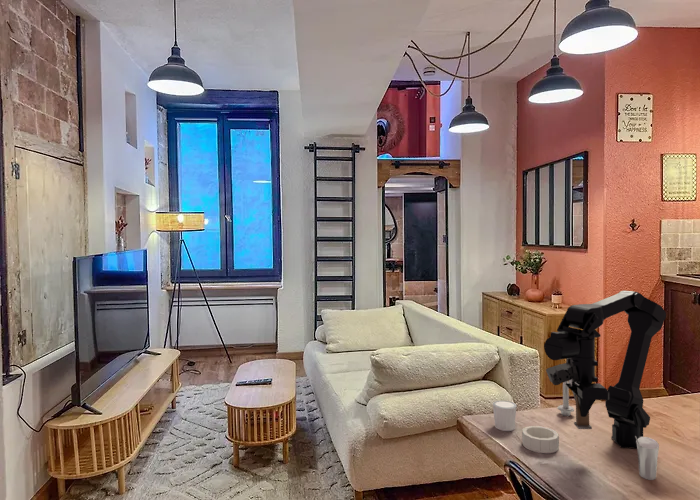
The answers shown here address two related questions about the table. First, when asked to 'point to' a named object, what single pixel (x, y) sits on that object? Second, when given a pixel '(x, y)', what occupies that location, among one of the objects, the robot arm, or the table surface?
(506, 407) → the white tapered cylinder
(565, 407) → the screw
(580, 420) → the brown wooden handle
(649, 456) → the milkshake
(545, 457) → the table surface
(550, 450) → the white bowl
